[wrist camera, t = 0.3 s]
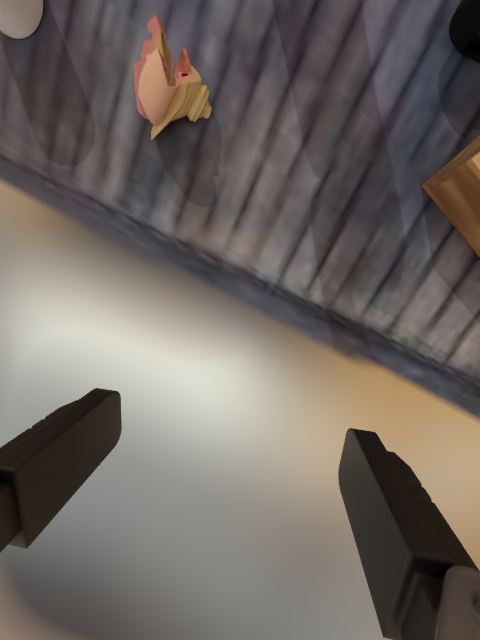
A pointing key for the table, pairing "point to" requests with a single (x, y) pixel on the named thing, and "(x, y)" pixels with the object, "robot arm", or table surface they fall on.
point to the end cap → (466, 29)
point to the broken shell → (167, 84)
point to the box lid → (475, 164)
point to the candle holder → (20, 17)
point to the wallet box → (459, 194)
